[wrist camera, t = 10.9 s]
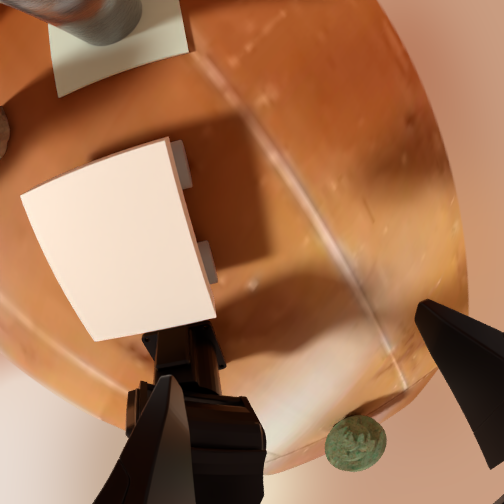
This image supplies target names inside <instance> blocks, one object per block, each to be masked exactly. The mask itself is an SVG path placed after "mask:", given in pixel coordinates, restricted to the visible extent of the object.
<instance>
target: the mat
mask: <svg viewBox="0 0 504 504" xmlns="http://www.w3.org/2000/svg"><path fill="white" fill-rule="evenodd" d="M140 1H141V3H142V16H141V19H140V21H139V23H138V25H137V26H136V27H135V29H134V30H133V31H132V32H131V33H130V34H129V35H128V36H127V37H125V38H124V39H122V40H120V41H119V42H116V43H114V44H111V45H107V46H93V45H90V44H88V43H86V42H84V41H82V40H81V39H79V38H77V37H75V36H73V35H71V34H69V33H67V32H65V31H63V30H61V29H59V28H57V27H55V26H53V25H51V24H49V23H48V28H49V40H50V49H51V57H52V64H53V71H54V77H55V83H56V88H57V94H58V98H61V97H63V96H65V95H68V94H70V93H72V92H74V91H76V90H78V89H81V88H83V87H85V86H88V85H90V84H92V83H95V82H97V81H100V80H102V79H105V78H107V77H110V76H113V75H115V74H118V73H121V72H124V71H127V70H130V69H133V68H136V67H139V66H142V65H145V64H149V63H152V62H155V61H159V60H163V59H166V58H170V57H174V56H178V55H182V54H187V53H189V51H188V46H187V40H186V35H185V30H184V25H183V20H182V14H181V9H180V4H179V0H140Z"/></svg>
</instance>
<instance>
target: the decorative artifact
mask: <svg viewBox="0 0 504 504" xmlns="http://www.w3.org/2000/svg"><path fill="white" fill-rule="evenodd" d="M385 447H386V434H385V431H384V429H383V428H382V426H381V425H380V424H379V423H378V422H376V421H375V420H374V419H372V418H370V417H368V416H364V415H355V416H350V417H347V418H345V419H343V420H341V421H340V422H339V423H337V424H336V425H335V426H334V427H333V428H332V430H331V431H330V433H329V434H328V436H327V439H326V442H325V453H326V457H327V459H328V461H329V462H330V463H331V464H332V465H333V466H334V467H336V468H338V469H340V470H344V471H351V472H357V471H362V470H365V469H367V468H369V467H371V466H372V465H373V464H375V463H376V462H377V461H378V460H379V459H380V458H381V456H382V455H383V453H384V450H385Z"/></svg>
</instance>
